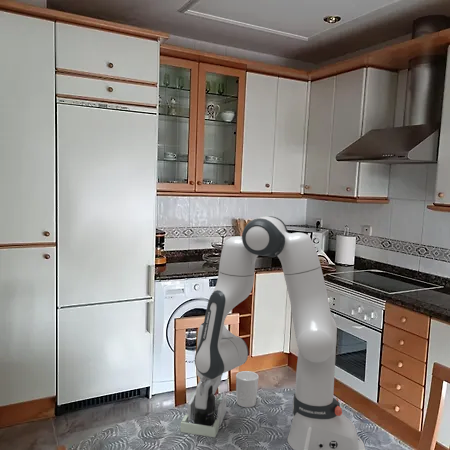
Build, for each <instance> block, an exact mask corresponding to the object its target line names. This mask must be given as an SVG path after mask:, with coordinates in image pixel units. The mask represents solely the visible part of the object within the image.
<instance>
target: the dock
mask: <svg viewBox="0 0 450 450" xmlns="http://www.w3.org/2000/svg"><path fill="white" fill-rule="evenodd" d="M188 420H189V415H187V414H185V415H184V416H183V418H182V420H181V421H180V433H185V434H192V435H198V436H204V437H209V438H216V436H217V435H218V432H219V429H220V425H219V419H218V418H216V419H215V420H214V423H213V425H212V426H206V425H199V424H194V422H193V423H190V422H189V421H188Z"/></svg>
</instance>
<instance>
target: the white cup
mask: <svg viewBox="0 0 450 450" xmlns="http://www.w3.org/2000/svg"><path fill="white" fill-rule="evenodd" d="M259 378H260V377H259V374H258V373H256V372H254V371H251V370H250V371H248V370H244V371H243V370H242V371H239V372H237V373H236V374H235V390H236V392H235V393H236V394H235V395H236V404H237V405H239V407H243V408H251V407H252V408H253V407H254V406H256V404H257V396H258V387H259Z"/></svg>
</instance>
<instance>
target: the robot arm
mask: <svg viewBox="0 0 450 450" xmlns="http://www.w3.org/2000/svg"><path fill="white" fill-rule="evenodd" d="M259 256H262V257H271V258H275V257H277V258H278V259H279V261H280V263H281V268H282V272H283V275H284V276H283V277H284V281H285V285H286V288H287V293H288V297H289V303H290V308H291V315H292V316H291V318H292V323H293V330H294V335H295V340H296V345H297V348H298V349H297V350H298V352H297V363H296V374H295V392H294V394H293V399H292V414H293V416H292V421H291V425H290V426H291V427H290V430H289V433H288V435H287V443H288V445H289V446H290V448H291V449H292V450H366V447H365V446H366V445H365V444H364V442H363V440H362V439H361V437H360V436H359V435H358V432H357V429H356V426H355V424H354V423H353V421H351V420H350V419H349V418H348V417H347V416H346V415H344V414H343V409H342V407H341V404H340V402H339V399H338V398H335V397H334V390H335V387H334V386H335V373H336V372H335V371H336V370H335V368H336V355H337V353H336V352H337V335H338V326H337V323H336V319H334V317H333V316H332V313H331V307H330V302H329V296H328V295H329V294H328V291H327V286H326V282H325V278H324V274H323V270H322V266H321V262H320V258H319V255H318V252H317V249H316V247H315V245H314V242H313V240H312V238H311V236H310V235H309V234H307V233H304V232H292V233H291V232H288V229H287V225H286V224H285V222H284V221H283V220H282V219H280V218H279V217H276V216H269V215H268V216H266V215H265V216H259V217H257V218H255V219H252V220H250V221H249V222H248V223H247V224H246V225H245V226H244V229H243V231H242V234H241V235H238V236H235V235H234V236H232V237H229V238H227V239H226V240H225V241H224V244H223V246H222V249H221V253H220V257H219V258H220V259H219V265H218V275H217V280H216V284H215V287H214V289H213V291H212V293H211V295H210V296H209V299H208V301H207V306H206V310H205V314H204V315H205V316H204V320H203V322H202V323H201V324H200V325H199V328H198V333H197V340H196V341H197V343H196V344H197V345H196V351H195V354H194V365H195V368H196V369H195V374H196V376H197V377H198V378H199V380H198V383H197V385H196V389H195V392H196V398H195V407H196V408H198V409H204V410H205V409H206V408H207V400H208V390H209V388H210V386H211V385H212V387H213V394H214V395H215V393H216V392H217V390H218V388H219V387H220V385H221V381H222V376H223V374H225V373H226V372H229V371H232V370H234V369H236V368H238V367H241V366H242V365H244V364H245V363H247V360H248V358H249V347H248V346H247V345H248V344H247V343H246V341H245V340H244V339H243V338H241V337H240V336H237V335H235V334H234V333H232V332H231V331H230V330H229V329H228V328H227V327H226V326H225V321H226V318H227V317H228V315H229V314H230V312H231V311H232V310H233V309H234V308H235V307H236V306H238V305H239V304H241V303H242V302H243V301H245V300H246V299H247V298H248V297H249V296H250V294H251V293H252V290H253V286H254V284H255V283H254V282H255V268H256V267H255V266H256V263H257V262H256V261H257V259H258V257H259ZM358 440H359V441H358Z"/></svg>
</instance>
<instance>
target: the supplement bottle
mask: <svg viewBox="0 0 450 450" xmlns="http://www.w3.org/2000/svg"><path fill="white" fill-rule="evenodd" d="M195 398H196V395H195V396H194V411H193V417H192V419H193V420H192V422H193V424H199V425H206V426H212V427H213V425H214V423H215V414H216V413H215V412H216V411H215V410H216V396H215V394H213V387H212V385H211V386H210V388H209V390H208V400H207V408H206V409H205V410H204V409H198V408H196V407H195Z"/></svg>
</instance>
